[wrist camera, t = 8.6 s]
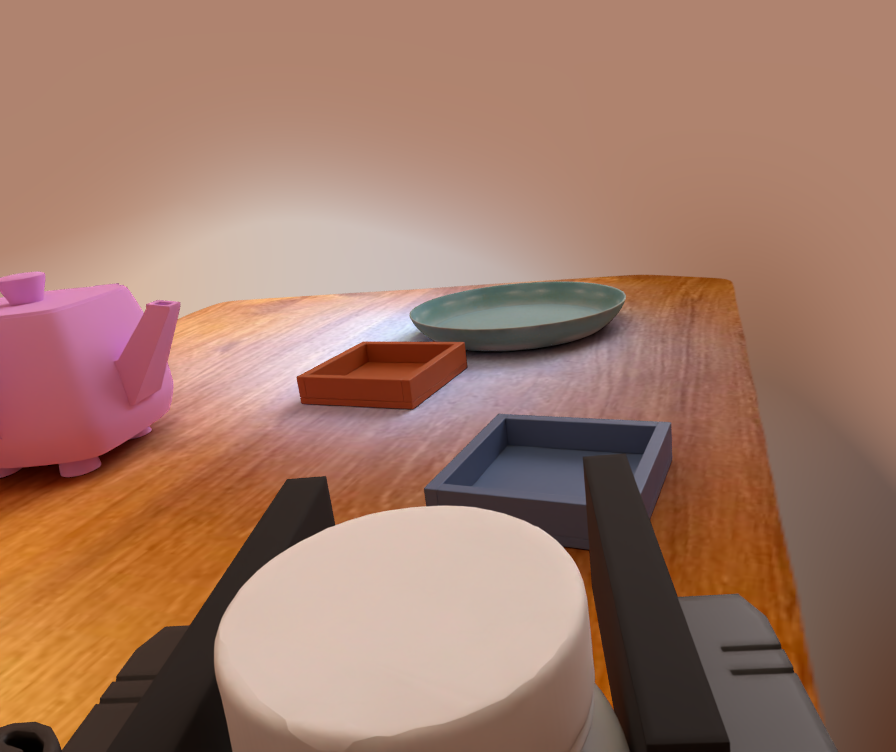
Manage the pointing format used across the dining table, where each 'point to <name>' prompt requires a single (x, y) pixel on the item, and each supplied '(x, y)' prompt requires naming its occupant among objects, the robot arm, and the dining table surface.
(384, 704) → the pill bottle
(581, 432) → the blue tray
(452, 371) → the burnt orange tray
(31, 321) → the teapot
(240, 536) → the dining table surface
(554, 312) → the saucer
